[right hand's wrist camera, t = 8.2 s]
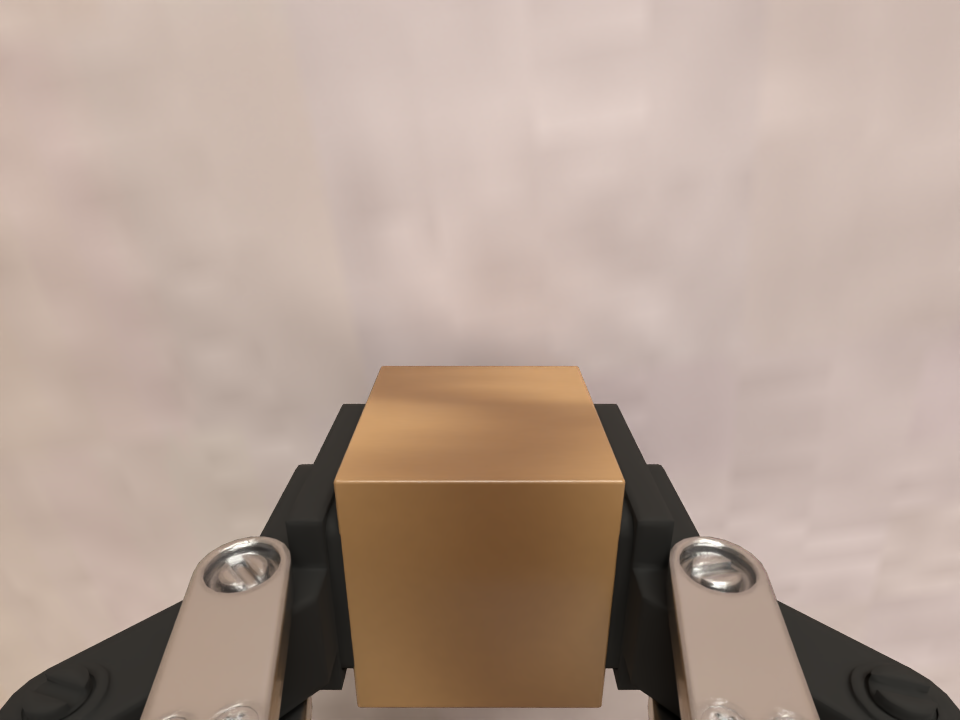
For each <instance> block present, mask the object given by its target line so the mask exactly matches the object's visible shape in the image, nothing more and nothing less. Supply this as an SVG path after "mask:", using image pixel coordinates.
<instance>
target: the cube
mask: <svg viewBox="0 0 960 720" xmlns="http://www.w3.org/2000/svg"><path fill="white" fill-rule="evenodd" d="M624 490H625V480H624V478H623V475H622V473H621V470H620V468H619V465H618V463H617V461H616V458H615V456H614V453H613V451H612V448H611V446H610V443H609V441H608V438H607V436H606V434H605V431H604V429H603V426H602V424H601V421H600V419H599V416H598V414H597V411H596V409H595V407H594V404H593V402H592V399H591V397H590V394H589V392H588V389H587V387H586V384H585V382H584V380H583V377H582V375H581V372H580V370H579V367H577V366H382V367H381V369H380V371H379V373H378V376H377V378H376V381H375V383H374V385H373V388H372V390H371V393H370V395H369V398H368V400H367V402H366V405H365V407H364V410H363V412H362V414H361V417H360V419H359V422H358V424H357V427H356V429H355V431H354V434H353V436H352V439H351V441H350V443H349V446H348V448H347V451H346V453H345V456H344V458H343V460H342V463H341V465H340V468H339V470H338V472H337V475H336V477H335V480H334V491H335V500H336V509H337V519H338V528H339V534H340V535H341V544H342V554H343V563H344V573H345V582H346V591H347V601H348V610H349V620H350V629H351V638H352V648H353V657H354V677H355V686H356V696H357V704H358V707H401V708H599V707H601V704H602V696H603V686H604V677H605V664H606V655H607V645H608V636H609V627H610V617H611V608H612V598H613V589H614V580H615V570H616V561H617V551H618V542H619V534H620V527H621V518H622V508H623V499H624Z"/></svg>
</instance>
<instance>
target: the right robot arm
mask: <svg viewBox="0 0 960 720" xmlns="http://www.w3.org/2000/svg"><path fill="white" fill-rule="evenodd" d="M365 405H366V404H343V405H342V407H341V409H340V411H339V413H338V415H337V417H336V419H335V421H334V423H333V425H332V427H331V429H330V431H329V433H328V436H327V438H326V440H325V442H324V444H323V446H322V448H321V450H320V452H319V454H318V456H317V458H316V460H315V462H314V464H302V465H299V466H298V467H297V468H296V470H295V472H294V474H293V475H292V477H291V479H290V481H289V483H288V485H287V487H286V489H285V490H284V492H283V494H282V496H281V498H280V500H279V502H278V503H277V505H276V507H275V509H274V511H273V513H272V515H271V516H270V518H269V520H268V522H267V524H266V526H265V528H264V530H263V531H262V533H261V535H260V537H247V538H242V539H237V540H234V541H232V542H229V543H226V544H224V545H221V546H220V547H218V548H217V549H215V550H213V551H212V552H210V553H209V554H208V555H206V556H205V557H204V558H203V559H202V560H201V561H200V562H199V563H198V565H197V567H196V569H195V570H194V572H193V574H192V577H191V580H190V583H189V585H188V588H187V591H186V594H185V597H184V599H183V601H181V602H179V603H177V604H175V605H173V606H171V607H169V608H167V609H165V610H163V611H161V612H159V613H157V614H155V615H153V616H151V617H149V618H147V619H145V620H143V621H141V622H139V623H137V624H135V625H133V626H131V627H130V628H128V629H126V630H124V631H122V632H120V633H118V634H116V635H114V636H112V637H110V638H108V639H106V640H104V641H102V642H100V643H98V644H96V645H94V646H92V647H90V648H88V649H86V650H84V651H82V652H80V653H78V654H76V655H75V656H73V657H71V658H69V659H67V660H65V661H63V662H61V663H59V664H57V665H55V666H53V667H51V668H49V669H47V670H46V671H44V672H42V673H41V674H39V675H37V676H36V677H34V678H33V679H31V680H29V681H28V682H27V683H26V684H25V685H23V686H22V687H21V688H20V689H19V690H18V691H16V692H15V693H14V694H13V695H12V696H11V697H10V699H9V700H8V701H7V702H6V704H5V705H4V706H3V707H2V708H1V710H0V720H311V718H312V699H311V696H312V695H313V694H314V693H316V692H317V691H319V690H342V687H343V682H344V678H345V674H346V670H347V668H354V657H353V648H352V638H351V629H350V620H349V610H348V601H347V591H346V582H345V573H344V563H343V554H342V544H341V535H340V534H339V528H338V519H337V509H336V500H335V491H334V480H335V477H336V475H337V472H338V470H339V468H340V465H341V463H342V460H343V458H344V456H345V453H346V451H347V448H348V446H349V443H350V441H351V439H352V436H353V434H354V431H355V429H356V427H357V424H358V422H359V419H360V417H361V414H362V412H363V410H364V407H365ZM594 407H595V409H596V411H597V414H598V416H599V419H600V421H601V424H602V426H603V429H604V431H605V434H606V436H607V438H608V441H609V443H610V446H611V448H612V451H613V453H614V456H615V458H616V461H617V463H618V465H619V468H620V470H621V473H622V475H623V478H624V480H625V490H624V499H623V508H622V518H621V527H620V534H619V542H618V551H617V561H616V570H615V580H614V589H613V598H612V608H611V617H610V627H609V636H608V645H607V655H606V664H605V668H613V671H614V675H615V679H616V683H617V687H618V690H641V691H643V692H644V693H645V694H647V695H648V696H649V699H648V718H649V720H960V710H959V709H958V707H957V706H956V705H955V704H954V703H953V701H952V700H951V699H950V698H949V697H948V695H947V694H946V693H945V692H943V691H942V690H941V689H940V688H939V687H937V686H936V685H935V684H934V683H933V682H932V681H930V680H929V679H927V678H926V677H924V676H922V675H921V674H919V673H917V672H916V671H914V670H912V669H911V668H909V667H907V666H905V665H903V664H901V663H899V662H897V661H895V660H893V659H891V658H889V657H887V656H885V655H883V654H881V653H879V652H877V651H875V650H873V649H872V648H870V647H868V646H866V645H864V644H862V643H860V642H858V641H856V640H854V639H852V638H850V637H848V636H846V635H844V634H842V633H840V632H838V631H836V630H834V629H832V628H830V627H828V626H826V625H824V624H822V623H820V622H819V621H817V620H815V619H813V618H811V617H809V616H807V615H805V614H803V613H801V612H799V611H797V610H795V609H793V608H791V607H789V606H787V605H785V604H783V603H781V602H779V601H777V599H776V597H775V594H774V591H773V588H772V585H771V583H770V580H769V577H768V574H767V572H766V570H765V569H764V567H763V565H762V563H761V562H760V561H759V560H758V559H757V558H756V557H755V556H754V555H752V554H751V553H750V552H748V551H747V550H745V549H743V548H742V547H740V546H739V545H736V544H734V543H731V542H728V541H726V540H723V539H718V538H713V537H700V535H699V534H698V532H697V530H696V528H695V526H694V524H693V522H692V521H691V519H690V517H689V515H688V513H687V511H686V509H685V508H684V506H683V504H682V502H681V500H680V498H679V496H678V495H677V493H676V491H675V489H674V487H673V485H672V483H671V481H670V480H669V478H668V476H667V474H666V472H665V470H664V469H663V467H662V466H661V465H658V464H646V462H645V460H644V458H643V456H642V454H641V452H640V450H639V448H638V446H637V444H636V442H635V440H634V438H633V436H632V434H631V432H630V430H629V428H628V426H627V424H626V422H625V420H624V418H623V416H622V414H621V412H620V410H619V408H618V406H617V404H594Z"/></svg>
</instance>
